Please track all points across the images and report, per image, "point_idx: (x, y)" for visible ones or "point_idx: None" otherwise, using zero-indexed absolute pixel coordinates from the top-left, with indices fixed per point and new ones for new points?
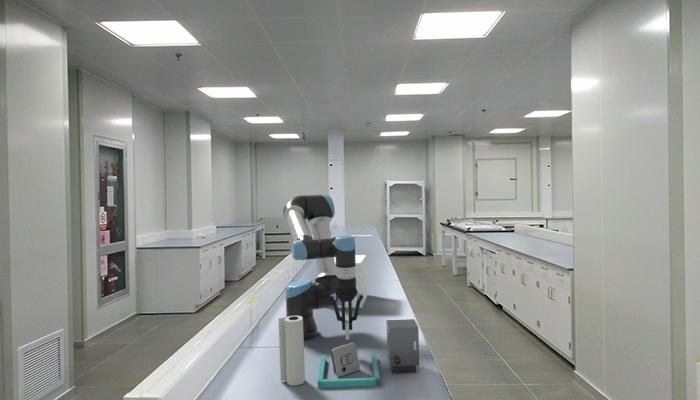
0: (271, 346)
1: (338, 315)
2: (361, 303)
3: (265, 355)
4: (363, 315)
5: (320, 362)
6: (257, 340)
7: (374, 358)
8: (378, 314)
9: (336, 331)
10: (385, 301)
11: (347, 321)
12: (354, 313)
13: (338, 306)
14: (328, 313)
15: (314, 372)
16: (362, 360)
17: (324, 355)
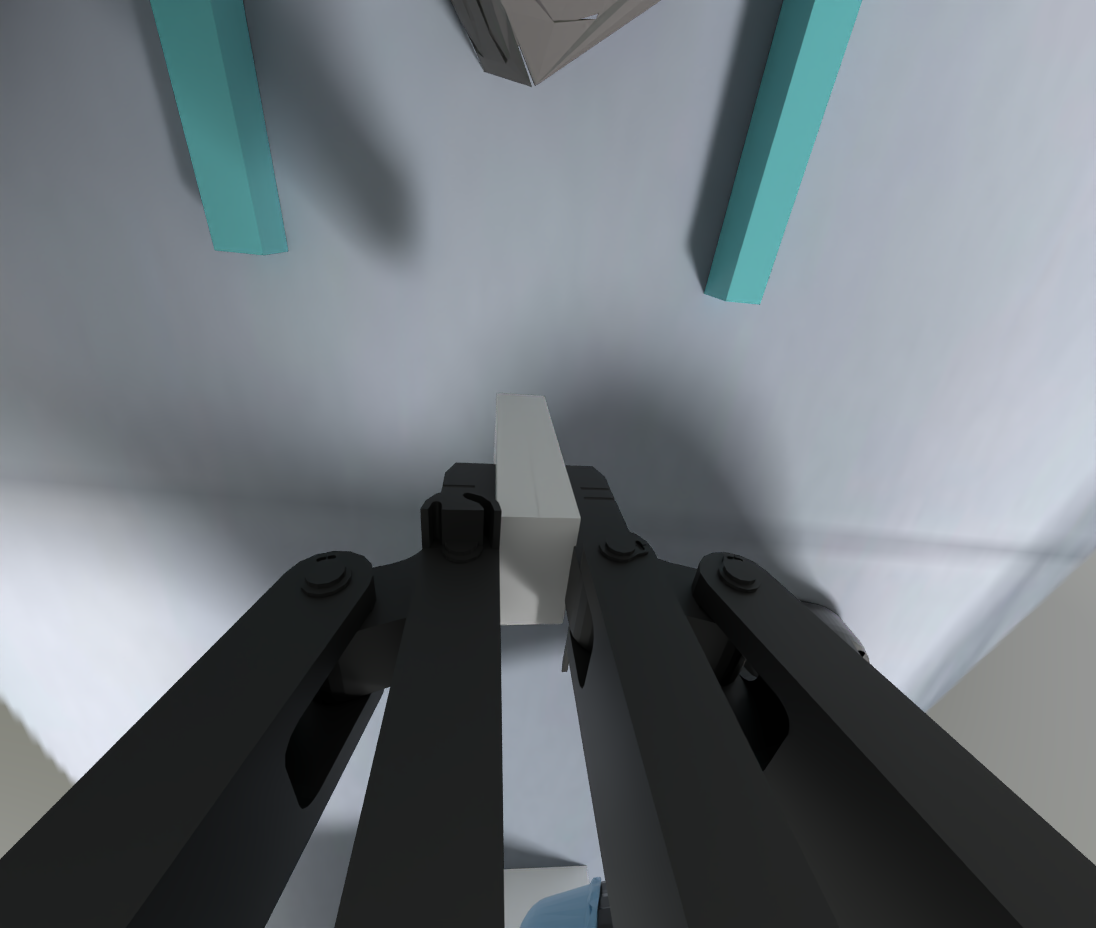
0: (946, 552)
1: (801, 656)
2: None
3: (1037, 444)
4: None
5: (823, 113)
6: (972, 618)
7: (194, 81)
8: (318, 836)
9: (555, 692)
10: (297, 919)
11: (524, 569)
12: (325, 762)
13: (520, 874)
14: (571, 829)
15: (870, 22)
16: (378, 231)
17: (736, 294)
